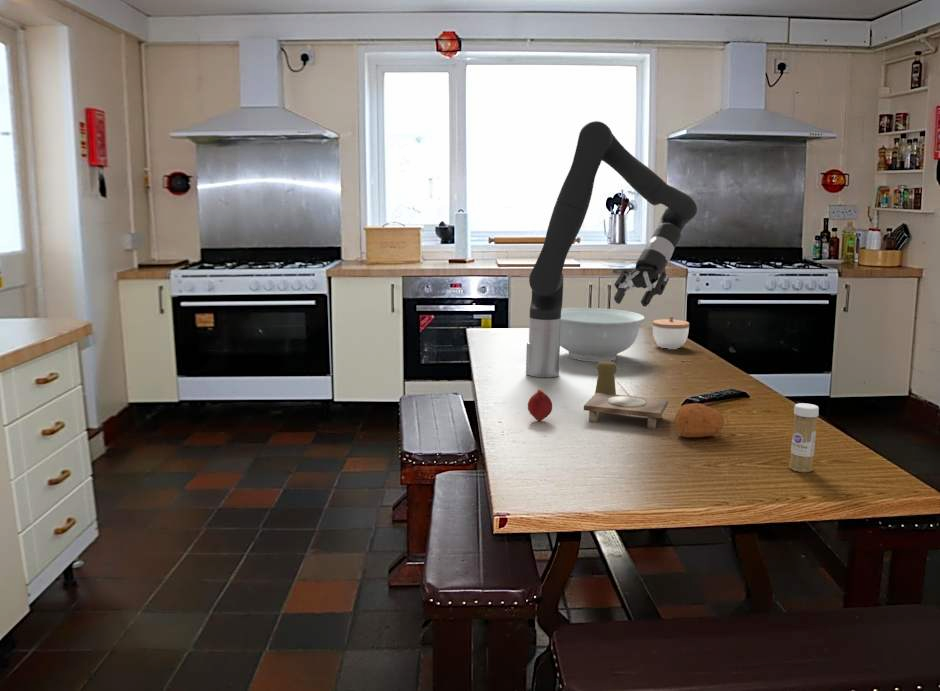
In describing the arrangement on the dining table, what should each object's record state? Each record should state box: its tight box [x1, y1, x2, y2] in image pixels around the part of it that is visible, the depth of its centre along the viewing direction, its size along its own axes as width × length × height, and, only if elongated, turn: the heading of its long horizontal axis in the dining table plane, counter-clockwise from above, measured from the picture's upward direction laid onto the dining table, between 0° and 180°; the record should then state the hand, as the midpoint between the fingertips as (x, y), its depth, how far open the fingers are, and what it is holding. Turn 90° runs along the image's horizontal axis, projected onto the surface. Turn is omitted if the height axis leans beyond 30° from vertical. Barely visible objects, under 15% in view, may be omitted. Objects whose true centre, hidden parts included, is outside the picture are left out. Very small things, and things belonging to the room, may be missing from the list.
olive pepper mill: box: [594, 361, 618, 395], centre depth 227 cm, size 6×6×11 cm
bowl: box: [560, 307, 646, 363], centre depth 285 cm, size 32×32×15 cm
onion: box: [527, 388, 553, 422], centre depth 208 cm, size 6×6×8 cm
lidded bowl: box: [652, 315, 690, 350], centre depth 305 cm, size 13×13×11 cm
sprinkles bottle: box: [788, 402, 820, 473], centre depth 175 cm, size 5×5×14 cm
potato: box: [673, 402, 725, 439], centre depth 198 cm, size 9×11×8 cm
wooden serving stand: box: [583, 392, 669, 430], centre depth 212 cm, size 18×14×5 cm
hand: (629, 303), depth 232 cm, fingers open, 8 cm apart
